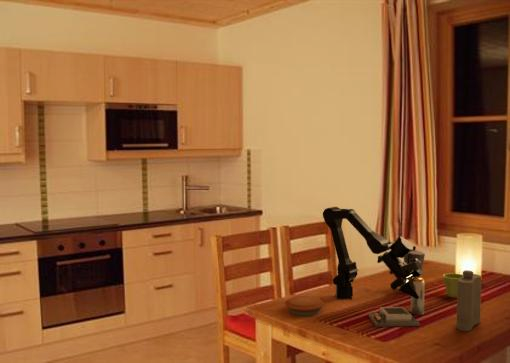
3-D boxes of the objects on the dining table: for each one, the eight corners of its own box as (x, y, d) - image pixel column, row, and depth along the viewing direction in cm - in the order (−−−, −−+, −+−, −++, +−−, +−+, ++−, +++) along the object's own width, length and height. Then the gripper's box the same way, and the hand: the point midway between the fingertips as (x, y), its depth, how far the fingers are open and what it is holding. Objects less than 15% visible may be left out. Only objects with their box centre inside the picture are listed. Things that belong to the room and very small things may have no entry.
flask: (465, 318, 206) (467, 266, 205) (481, 321, 203) (483, 268, 201) (452, 329, 195) (453, 274, 193) (469, 332, 191) (470, 276, 189)
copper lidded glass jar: (413, 314, 210) (413, 279, 209) (409, 310, 215) (409, 276, 214) (425, 314, 211) (426, 279, 209) (421, 310, 216) (422, 276, 214)
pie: (302, 303, 227) (302, 291, 227) (331, 311, 216) (331, 299, 216) (276, 311, 216) (276, 299, 216) (306, 320, 205) (306, 307, 205)
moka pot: (426, 288, 248) (427, 244, 246) (419, 296, 234) (421, 251, 232) (405, 285, 252) (406, 242, 250) (397, 293, 238) (398, 248, 237)
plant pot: (441, 297, 233) (442, 277, 232) (443, 291, 242) (443, 272, 241) (465, 299, 229) (465, 279, 229) (465, 293, 238) (466, 274, 237)
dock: (376, 326, 198) (376, 317, 197) (368, 316, 210) (368, 307, 209) (419, 326, 198) (419, 316, 198) (409, 315, 210) (409, 306, 210)
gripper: (398, 256, 206) (425, 290, 200) (418, 248, 221) (444, 279, 215) (379, 274, 212) (405, 307, 206) (399, 265, 226) (425, 295, 220)
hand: (421, 296), depth 212 cm, fingers closed on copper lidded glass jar, 5 cm apart
